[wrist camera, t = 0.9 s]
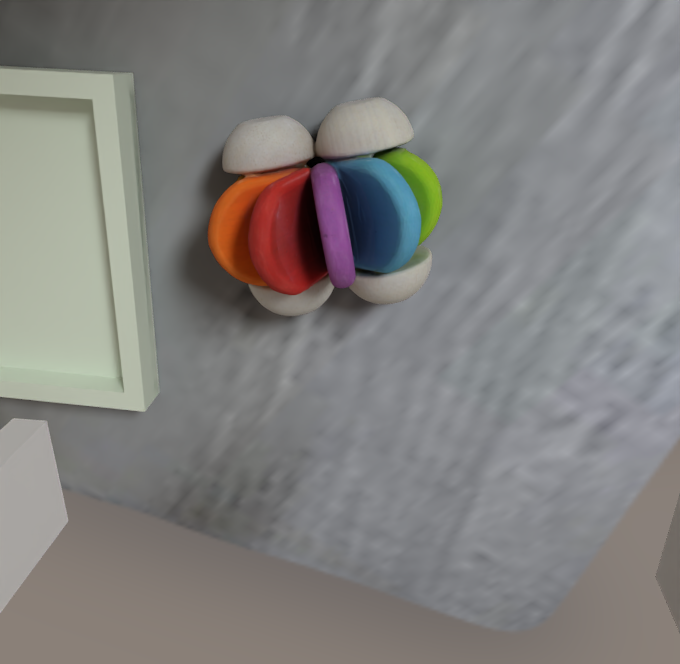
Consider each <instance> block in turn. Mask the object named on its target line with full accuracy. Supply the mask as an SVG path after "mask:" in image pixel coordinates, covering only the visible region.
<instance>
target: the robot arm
mask: <svg viewBox="0 0 680 664" xmlns="http://www.w3.org/2000/svg"><path fill="white" fill-rule="evenodd" d="M67 522H68V517H67V512H66V508H65V503H64V499H63V494H62V489H61V484H60V480H59V475H58V470H57V466H56V461H55V457H54V452H53V447H52V443H51V438H50V433H49V429H48V424H47V421H43V420H30V419H17V418H13V419H12V420H11V421H10V422H9V423H8V424H7V425H5V426H4V427H3V428H2V429H1V430H0V613H1V612H2V610H3V609H4V608H5V606H6V605H7V603H8V602H9V601H10V599H11V598H12V596H13V595H14V594H15V593H16V591H17V590H18V588H19V587H20V586H21V585H22V583H23V582H24V580H25V579H26V578H27V576H28V575H29V574H30V572H31V571H32V570H33V568H34V567H35V566H36V564H37V563H38V562H39V560H40V559H41V557H42V556H43V555H44V553H45V552H46V551H47V549H48V548H49V547H50V545H51V544H52V542H53V541H54V540H55V538H56V537H57V536H58V534H59V533H60V532H61V530H62V529H63V527H64V526H65V525H66V524H67ZM655 577H656V579H657V582H658V584H659V586H660V589H661V591H662V593H663V596H664V598H665V600H666V603H667V605H668V607H669V609H670V612H671V614H672V616H673V619H674V621H675V623H676V626H677V628H678V630H679V632H680V494H679V498H678V502H677V505H676V508H675V512H674V515H673V519H672V522H671V525H670V529H669V532H668V536H667V539H666V542H665V546H664V549H663V553H662V556H661V559H660V563H659V566H658V570H657V573H656V576H655Z"/></svg>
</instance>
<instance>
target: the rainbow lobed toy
mask: <svg viewBox="0 0 680 664" xmlns="http://www.w3.org/2000/svg"><path fill="white" fill-rule="evenodd" d="M413 137H414V131H413V129H412V126H411V124H410V122H409V120H408V118H407V117H406V115H405V114H404V113H403V112H402V110H401V109H399V108H398V107H397V106H396V105H395V104H393V103H392V102H390V101H388V100H386V99H384V98H380V97H375V98H367V99H361V100H355V101H350V102H346V103H343V104H339V105H337V106H335V107H334V108H333V109H332V110H331V111H330V112H329V113H328V114H327V116H326V117H325V118H324V120H323V122H322V123H321V126H320V128H319V131H318V134H317V140H316V142H315V141H314V140H313V138H312V136H311V135H310V134H309V132H308V131H307V130H306V128H305V127H303V126H302V125H301V124H300V123H299V122H297V121H296V120H294V119H292V118H291V117H288V116H285V115H278V116H270V117H263V118H257V119H253V120H248V121H245V122H242V123H241V124H239V125H238V126H237V127H236V128H235V129H234V130H233V131H232V133H231V134H230V136H229V137H228V139H227V141H226V144H225V147H224V151H223V159H222V165H223V170H224V171H226V172H228V173H233V174H240V175H242V176H239V177H238V179H237V181H236V182H235V183H234V184H233V185H231V186H230V187H229V188H228V189H227V190H226V191H225V192H224V193H223V194H222V195H221V197H220V198H219V199H218V201H217V202H216V204H215V206H214V208H213V211H212V214H211V217H210V221H209V226H208V243H209V247H210V249H211V251H212V253H213V255H214V257H215V259H216V260H217V262H218V263H219V264H220V265H221V266H222V268H224V269H225V270H226V271H227V272H228V273H229V274H230V275H231V276H233V277H235V278H236V279H238V280H240V281H243V282H245V283H248V284H249V287H250V290H251V292H252V293H253V295H254V297H255V298H256V299H257V300H258V302H259V303H260V304H261V305H263V306H264V307H265V308H267V309H268V310H270V311H271V312H274V313H276V314H279V315H283V316H298V315H303V314H307V313H310V312H312V311H314V310H316V309H317V308H319V307H320V306H321V305H322V304H323V303H324V302H325V301H326V300H327V299H328V298H329V296H330V295H331V293H332V291H333V289H334V286H335V287H337V288H347V287H349V288H350V289H351V290H352V291H353V292H354V293H355V294H356V295H358V296H359V297H361V298H362V299H364V300H366V301H369V302H372V303H376V304H393V303H397V302H401V301H404V300H406V299H408V298H409V297H411V296H412V295H414V294H415V293H416V292H417V291H418V290H419V289H420V288H421V287H422V286H423V284H424V283H425V281H426V279H427V277H428V275H429V273H430V269H431V264H432V254H431V251H430V250H429V249H428V248H426V247H423V246H420V244H421V243H422V242H423V241H424V240H425V239H426V238H427V237H428V236H429V235H430V233H431V232H432V231H433V229H434V227H435V225H436V223H437V221H438V219H439V216H440V213H441V209H442V191H441V186H440V183H439V181H438V178H437V176H436V174H435V173H434V172H433V170H432V169H431V168H430V166H429V165H428V164H427V163H425V162H424V161H423V160H422V159H420V158H419V157H418V156H416V155H414V154H412V153H410V152H408V151H407V150H406V149H405V148H399V147H397V146H401V145H403V144H405V143H407V142H409V141H411V140H412V139H413ZM317 156H318V157H321V158H323V159H324V160H325V163H320V164H317V165H315V166H314V167H312V168H310V167H309V166H308V165H307V164H306V163H307V162H308V161H309V160H310V159H312V158H314V157H317Z"/></svg>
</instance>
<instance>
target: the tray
mask: <svg viewBox="0 0 680 664" xmlns="http://www.w3.org/2000/svg"><path fill="white" fill-rule="evenodd" d="M159 393H160V391H159V379H158V367H157V355H156V343H155V331H154V319H153V307H152V295H151V282H150V270H149V258H148V246H147V234H146V222H145V210H144V198H143V186H142V174H141V162H140V150H139V138H138V126H137V114H136V102H135V90H134V78H133V73H125V72H107V71H88V70H70V69H52V68H34V67H16V66H0V397H7V398H17V399H27V400H36V401H46V402H56V403H65V404H75V405H85V406H95V407H104V408H114V409H124V410H133V411H143V412H145V411H146V410H147V408H148V407H149V406H150V405H151V403H152V402H153V401H154V399H155V398H156V397H157V395H158V394H159Z"/></svg>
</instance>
